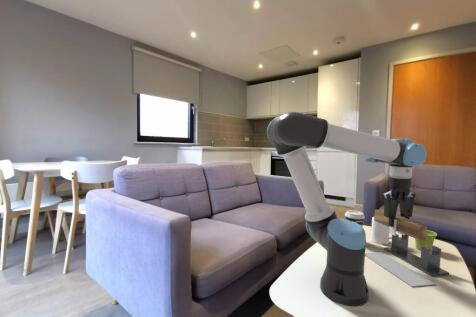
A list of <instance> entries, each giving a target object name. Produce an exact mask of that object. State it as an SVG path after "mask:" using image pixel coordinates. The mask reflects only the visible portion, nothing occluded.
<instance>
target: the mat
mask: <svg viewBox="0 0 476 317" xmlns="http://www.w3.org/2000/svg"><path fill="white" fill-rule="evenodd" d="M365 258H368V259H370V260H371V261H372V262H374V263H375V264H377V265H378V266H379V267H380V268H382V269H384V270H385V271H386V272H388V273H390V274H391V275H393V276H394V277H396V278H397V279H399V280H401V281H402V282H403V283H405V284H406V285H408V286H410V287H411V288H418V287H419V288H420V287H427V286H436V285H437V284H436V283H435V282H433V281H431V280H430V279H428V278H426V277H425V276H423V275H421V274H420V273H418V272H416V271H415V270H413V269H412V268H409V267H407V266H406V265H405V264H403V263H401V262H399V261H397V260H396V259H395V258H392V257H391V256H390V255H388V254H386V253H384V252H382V251H377V252H375V251H374V252H365Z"/></svg>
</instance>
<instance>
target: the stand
mask: <svg viewBox="0 0 476 317" xmlns="http://www.w3.org/2000/svg"><path fill="white" fill-rule="evenodd" d="M391 237H392V239H391V246H388V247H386V246H385V247H383V250H384V251H386V252H388V253H389V254H391V255H393V256H395V257H396V258H398V259H400V260H402V261H403V262H406V263H407V264H409V265H411V266H412V267H414V268H416V269H418V270H420V271H421V272H423V273H425V274H426V275H428V276H430V277H431V278H433V277H443V276H450V272H448V271H447V270H444V269H443V268H441V255H442V254H441V253H442V248H441V247H439V246H436V245H434V244H433V246H432V250H431V251H430V249H428V248H426V247H424V246H421V250H420V256H417V255H416V254H414V253H412V252H410V251H409V250H408V249H409V238H410V236H408V235H406V234H405V235H402V234H401V236H400V235H399V233H398V234H397V233H396V236H394V235H392V234H391Z"/></svg>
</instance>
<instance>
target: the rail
mask: <svg viewBox="0 0 476 317" xmlns="http://www.w3.org/2000/svg"><path fill="white" fill-rule="evenodd" d="M373 217H374V221H376V222H379V223H381V224H383V225H386V226H388V227H390V226H389V225H388V224H389V218H388V217H386V216H384V209H374V215H373ZM395 219H396V220H397V227H396V232H398V231H399V232H401V233H404V234H406V235H408V236H409V237H411V238H412V239H413V238H414V240H415V239H417V240H423V239H426V233H427V230H428V226H427V225H426V224H422V223H421V222H418V221H414V220H412V219H407V218H404V217H401V215H398V214H396V217H395Z"/></svg>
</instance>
